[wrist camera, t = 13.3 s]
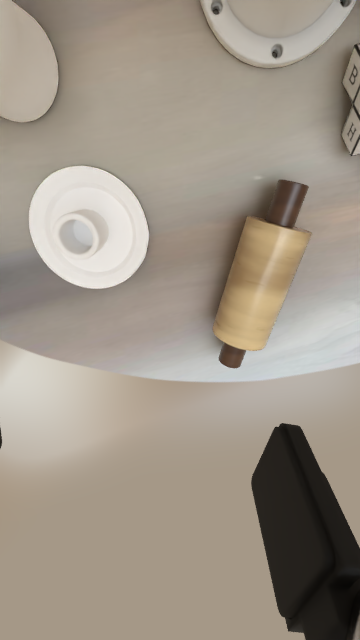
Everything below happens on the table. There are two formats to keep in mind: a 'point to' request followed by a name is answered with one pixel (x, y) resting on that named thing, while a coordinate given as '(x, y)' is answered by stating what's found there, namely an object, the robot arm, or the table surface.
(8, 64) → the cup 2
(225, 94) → the table surface
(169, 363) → the table surface
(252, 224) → the rolling pin
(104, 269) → the candle holder
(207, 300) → the table surface
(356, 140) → the building blocks
